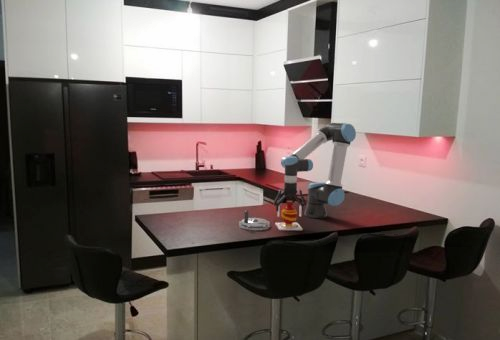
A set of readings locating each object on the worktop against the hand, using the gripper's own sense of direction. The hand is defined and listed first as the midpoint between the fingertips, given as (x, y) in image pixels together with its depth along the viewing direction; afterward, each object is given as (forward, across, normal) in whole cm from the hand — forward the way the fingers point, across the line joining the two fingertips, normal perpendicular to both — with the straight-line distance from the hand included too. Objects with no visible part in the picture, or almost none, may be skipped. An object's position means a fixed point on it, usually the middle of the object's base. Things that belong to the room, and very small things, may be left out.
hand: (289, 216), depth 252 cm
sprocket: (+5, +21, -1) cm, 22 cm away
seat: (+7, 0, 0) cm, 7 cm away
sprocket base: (+7, +21, -1) cm, 22 cm away
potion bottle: (+6, 0, 0) cm, 6 cm away
